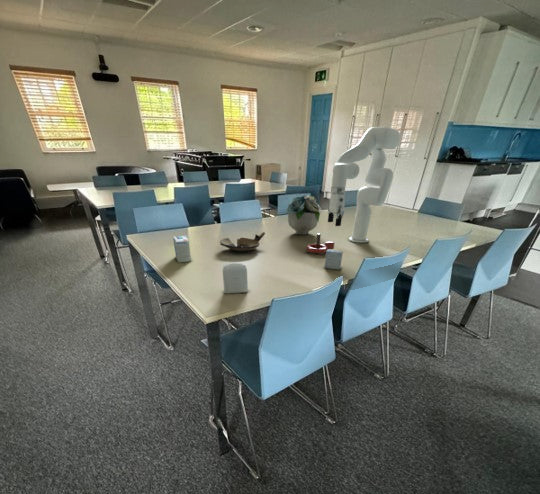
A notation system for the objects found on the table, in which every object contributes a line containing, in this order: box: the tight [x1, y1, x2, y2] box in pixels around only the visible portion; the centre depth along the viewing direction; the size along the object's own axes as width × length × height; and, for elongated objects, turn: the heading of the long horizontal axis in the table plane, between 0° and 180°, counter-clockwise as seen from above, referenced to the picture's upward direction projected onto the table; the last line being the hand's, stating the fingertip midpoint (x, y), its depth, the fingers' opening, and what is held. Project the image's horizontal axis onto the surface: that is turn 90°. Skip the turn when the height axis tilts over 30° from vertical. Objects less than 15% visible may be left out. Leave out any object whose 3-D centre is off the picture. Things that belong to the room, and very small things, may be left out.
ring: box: [306, 241, 335, 253], centre depth 183 cm, size 16×12×4 cm
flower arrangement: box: [285, 194, 323, 235], centre depth 214 cm, size 25×25×24 cm
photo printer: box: [222, 262, 249, 294], centre depth 130 cm, size 10×4×12 cm, turn 100°
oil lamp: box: [219, 231, 266, 252], centre depth 183 cm, size 22×30×8 cm
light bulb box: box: [172, 235, 192, 263], centre depth 165 cm, size 11×7×11 cm, turn 23°
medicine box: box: [323, 249, 344, 271], centre depth 159 cm, size 8×4×9 cm, turn 71°
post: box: [306, 232, 326, 256], centre depth 182 cm, size 10×10×10 cm
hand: (334, 223), depth 178 cm, fingers open, 9 cm apart
